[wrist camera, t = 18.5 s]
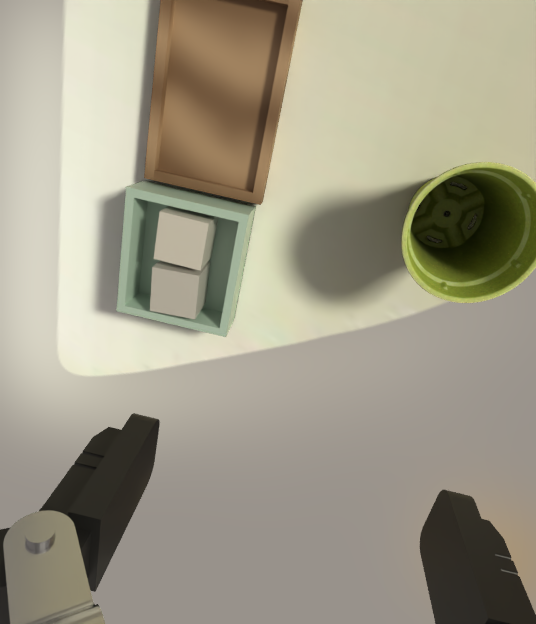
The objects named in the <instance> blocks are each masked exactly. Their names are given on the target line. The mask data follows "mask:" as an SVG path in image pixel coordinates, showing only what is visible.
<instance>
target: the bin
mask: <svg viewBox="0 0 536 624" xmlns="http://www.w3.org/2000/svg"><path fill="white" fill-rule="evenodd" d="M168 206H172V207H177V208H181V209H185V210H190V211H194V212H198V213H203V214H207V215H211V216H216V217H219V219H218V224H217V230H216V235H215V241H214V246H213V252H212V257H211V258H210V260H209V261H208V262H210V270H209V279H208V288H207V297H206V303H205V305H204V306H203V308H202V309H201V311H200V312H199V314H198V315H197V317H196V319H190V318H185V317H180V316H175V315H169V314H164V313H159V312H154V311H150V298H151V281H152V267H153V266H154V265H155V264H156V263H158V262H159V261H160V260H157V259H154V251H155V243H156V236H157V228H158V220H159V213H160V211H161V210H163V209H165V208H166V207H168ZM255 209H256V206H253V205H249V204H245V203H240V202H236V201H231V200H227V199H223V198H218V197H214V196H210V195H205V194H201V193H197V192H192V191H188V190H184V189H179V188H175V187H171V186H166V185H162V184H157V183H153V182H149V181H141V182H138V183H136V184H133V185H130V186H127V187H126V195H125V208H124V221H123V234H122V247H121V259H120V272H119V285H118V298H117V311H118V312H122V313H126V314H130V315H135V316H139V317H143V318H147V319H152V320H156V321H160V322H164V323H168V324H173V325H177V326H181V327H185V328H189V329H194V330H198V331H202V332H206V333H210V334H215V335H219V336H223V337H226V336H227V334H228V332H229V329H230V327H231V325H232V323H233V321H234V318H235V312H236V307H237V302H238V297H239V292H240V286H241V281H242V276H243V271H244V266H245V260H246V255H247V250H248V245H249V240H250V234H251V229H252V224H253V219H254V214H255Z"/></svg>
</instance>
